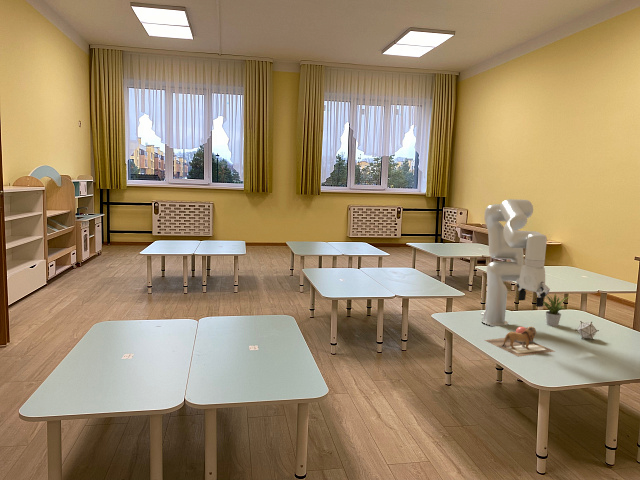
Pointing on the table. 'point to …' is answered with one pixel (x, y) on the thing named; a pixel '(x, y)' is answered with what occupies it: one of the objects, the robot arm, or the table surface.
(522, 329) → the pop dome
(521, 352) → the brown flat square board
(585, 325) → the game die
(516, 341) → the dome housing
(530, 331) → the lion figurine
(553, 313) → the house plant
